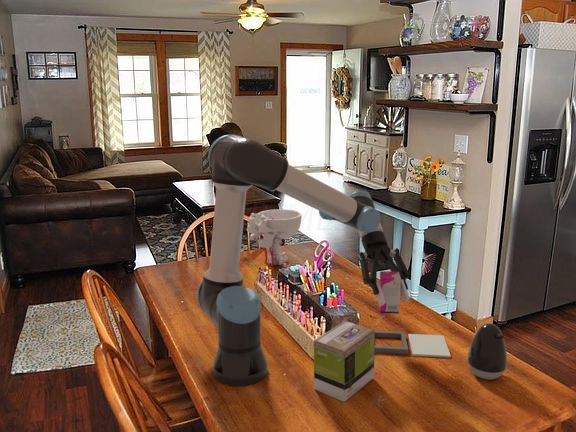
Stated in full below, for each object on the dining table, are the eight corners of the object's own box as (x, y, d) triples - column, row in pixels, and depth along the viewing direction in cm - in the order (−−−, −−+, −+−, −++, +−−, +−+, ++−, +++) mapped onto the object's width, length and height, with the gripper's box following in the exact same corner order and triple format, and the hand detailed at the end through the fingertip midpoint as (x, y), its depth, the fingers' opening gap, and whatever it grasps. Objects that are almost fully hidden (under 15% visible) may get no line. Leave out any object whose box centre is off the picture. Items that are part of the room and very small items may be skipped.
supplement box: (397, 306, 164) (399, 271, 162) (399, 314, 159) (401, 278, 156) (378, 305, 165) (380, 270, 162) (379, 313, 159) (381, 277, 156)
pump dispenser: (481, 387, 141) (486, 335, 137) (459, 367, 151) (463, 318, 147) (514, 381, 144) (519, 330, 140) (490, 363, 154) (495, 314, 150)
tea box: (344, 366, 152) (345, 318, 148) (374, 378, 146) (376, 329, 142) (312, 389, 140) (313, 338, 137) (344, 403, 134) (345, 350, 131)
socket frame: (407, 354, 159) (408, 349, 158) (369, 352, 160) (369, 347, 159) (404, 336, 170) (404, 332, 169) (368, 334, 171) (368, 330, 170)
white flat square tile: (450, 357, 156) (450, 355, 156) (412, 355, 158) (412, 353, 157) (443, 337, 169) (443, 335, 169) (408, 335, 170) (408, 333, 170)
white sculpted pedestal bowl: (285, 254, 251) (285, 207, 245) (309, 265, 235) (310, 215, 230) (239, 264, 237) (238, 214, 231) (261, 276, 222) (260, 223, 216)
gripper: (395, 238, 175) (419, 303, 164) (339, 244, 169) (359, 311, 158) (404, 227, 169) (430, 293, 158) (346, 232, 162) (368, 301, 152)
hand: (395, 302), depth 158 cm, fingers closed on supplement box, 7 cm apart
